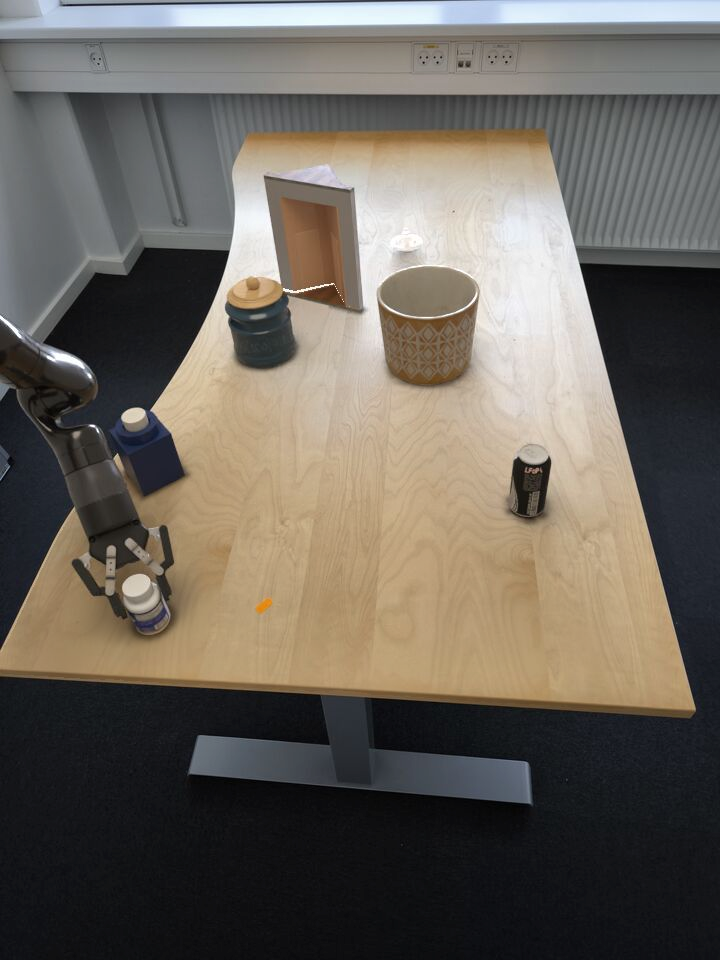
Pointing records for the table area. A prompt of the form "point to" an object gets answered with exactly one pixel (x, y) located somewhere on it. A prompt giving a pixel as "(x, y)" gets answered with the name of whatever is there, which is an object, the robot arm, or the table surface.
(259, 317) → the canister
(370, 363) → the table surface
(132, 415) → the white bottle cap
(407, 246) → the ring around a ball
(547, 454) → the beverage can
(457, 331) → the planter
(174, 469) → the blue push button box
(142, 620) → the pill bottle
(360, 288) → the cabinet
